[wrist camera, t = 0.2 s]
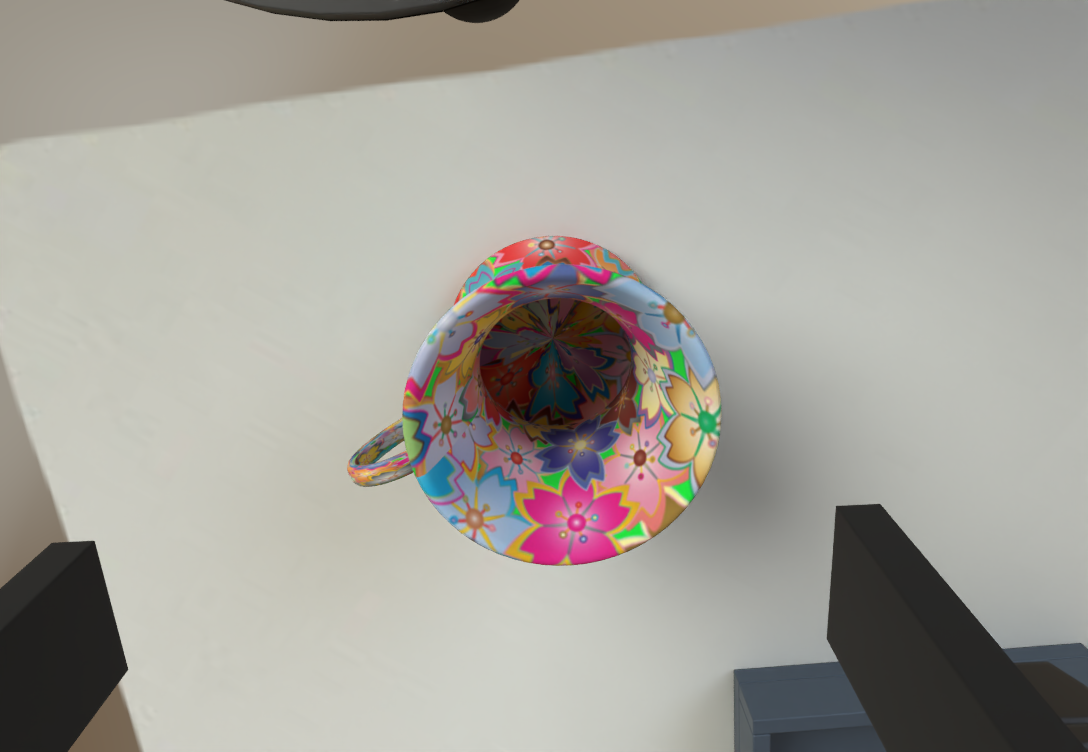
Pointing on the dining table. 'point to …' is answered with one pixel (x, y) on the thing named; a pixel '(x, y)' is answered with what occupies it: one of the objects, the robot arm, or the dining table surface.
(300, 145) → the dining table surface
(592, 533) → the mug
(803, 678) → the tray
